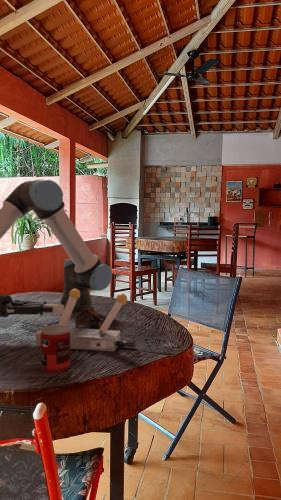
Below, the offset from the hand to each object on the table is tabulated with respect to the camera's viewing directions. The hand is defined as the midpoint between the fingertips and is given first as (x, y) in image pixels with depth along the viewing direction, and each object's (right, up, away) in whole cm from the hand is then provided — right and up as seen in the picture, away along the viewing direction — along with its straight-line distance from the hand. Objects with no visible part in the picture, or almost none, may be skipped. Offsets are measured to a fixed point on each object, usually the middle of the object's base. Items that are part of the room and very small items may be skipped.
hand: (63, 309), depth 124 cm
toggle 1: (-1, -6, +1) cm, 6 cm away
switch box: (+8, -12, 0) cm, 14 cm away
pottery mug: (+6, -10, +21) cm, 24 cm away
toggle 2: (+13, -7, -1) cm, 15 cm away
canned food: (+2, -13, -19) cm, 24 cm away
